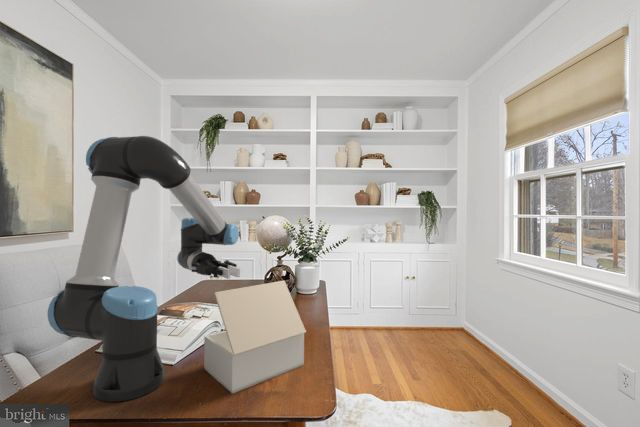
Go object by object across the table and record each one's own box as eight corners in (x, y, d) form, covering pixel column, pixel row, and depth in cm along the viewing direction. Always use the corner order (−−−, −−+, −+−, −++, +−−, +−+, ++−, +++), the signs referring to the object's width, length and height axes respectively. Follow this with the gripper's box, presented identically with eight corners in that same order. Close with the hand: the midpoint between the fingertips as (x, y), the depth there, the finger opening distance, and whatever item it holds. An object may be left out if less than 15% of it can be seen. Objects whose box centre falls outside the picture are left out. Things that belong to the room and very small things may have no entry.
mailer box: (232, 393, 79) (232, 356, 79) (204, 368, 91) (204, 336, 90) (303, 365, 94) (304, 333, 93) (271, 346, 105) (272, 318, 105)
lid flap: (233, 355, 78) (234, 354, 78) (214, 293, 86) (215, 292, 86) (305, 332, 93) (306, 331, 93) (283, 281, 101) (284, 280, 100)
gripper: (222, 270, 124) (256, 282, 106) (179, 276, 113) (209, 289, 96) (222, 250, 123) (256, 258, 106) (179, 254, 113) (209, 263, 96)
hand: (233, 273), depth 101 cm, fingers open, 3 cm apart
